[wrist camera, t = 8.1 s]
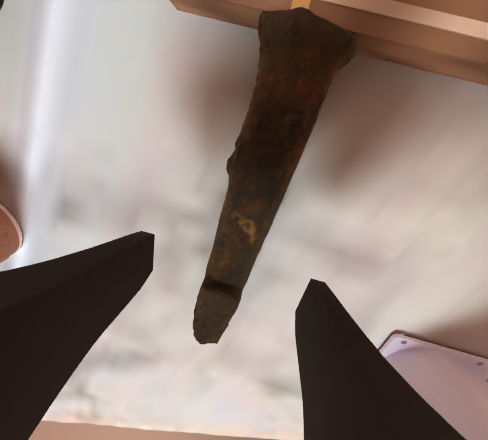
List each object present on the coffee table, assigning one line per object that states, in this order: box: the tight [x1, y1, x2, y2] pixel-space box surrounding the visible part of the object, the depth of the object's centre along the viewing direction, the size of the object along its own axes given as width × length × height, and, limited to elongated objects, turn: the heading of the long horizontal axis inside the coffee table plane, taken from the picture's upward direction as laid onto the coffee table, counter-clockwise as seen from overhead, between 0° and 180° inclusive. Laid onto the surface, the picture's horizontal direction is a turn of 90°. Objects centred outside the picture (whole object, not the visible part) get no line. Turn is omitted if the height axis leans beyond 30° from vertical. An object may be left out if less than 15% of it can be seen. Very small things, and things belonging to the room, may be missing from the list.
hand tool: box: [193, 7, 357, 344], centre depth 15 cm, size 23×5×6 cm, turn 161°
